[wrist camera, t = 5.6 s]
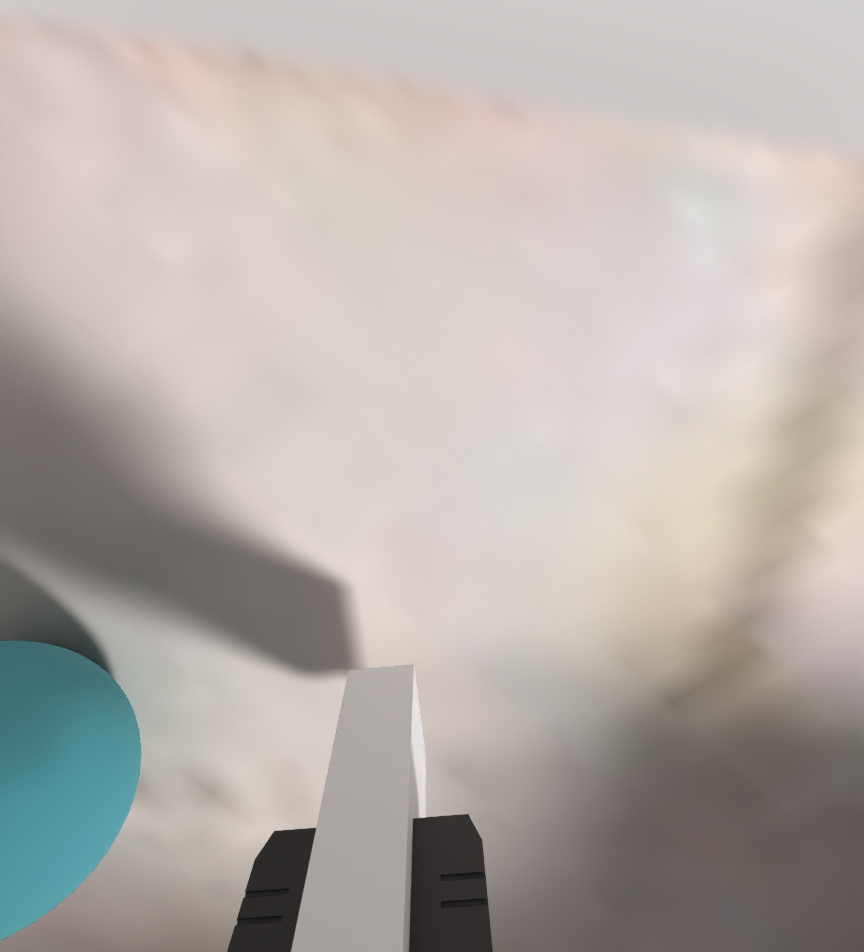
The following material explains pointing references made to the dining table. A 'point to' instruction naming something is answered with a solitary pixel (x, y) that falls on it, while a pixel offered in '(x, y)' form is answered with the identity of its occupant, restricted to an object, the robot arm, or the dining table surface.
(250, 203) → the dining table surface
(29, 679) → the ball
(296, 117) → the dining table surface
